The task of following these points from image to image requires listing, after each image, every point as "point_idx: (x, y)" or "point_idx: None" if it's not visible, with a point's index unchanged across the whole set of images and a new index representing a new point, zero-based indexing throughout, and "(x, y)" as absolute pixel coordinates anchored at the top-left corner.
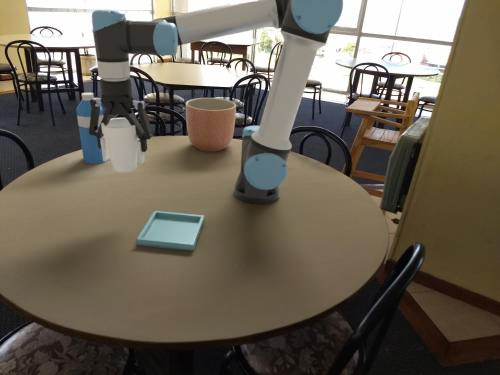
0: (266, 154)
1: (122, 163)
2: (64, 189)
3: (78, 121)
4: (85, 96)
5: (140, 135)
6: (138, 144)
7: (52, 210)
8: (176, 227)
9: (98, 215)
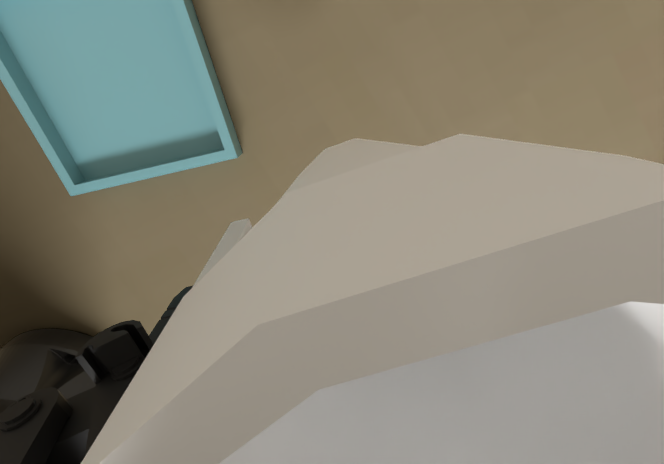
0: None
1: (328, 151)
2: None
3: None
4: None
5: (112, 409)
6: None
7: (590, 44)
8: (124, 108)
9: (419, 81)
